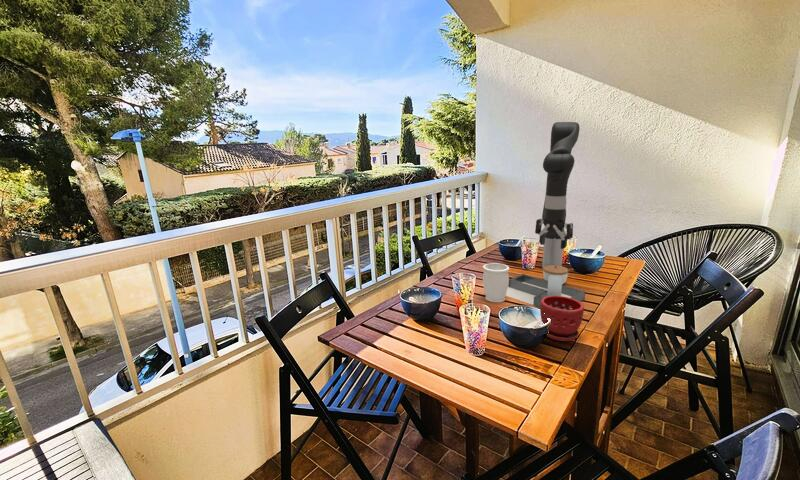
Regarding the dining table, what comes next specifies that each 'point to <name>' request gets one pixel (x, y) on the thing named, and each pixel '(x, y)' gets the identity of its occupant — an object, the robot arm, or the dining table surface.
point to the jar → (495, 281)
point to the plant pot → (562, 317)
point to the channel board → (525, 294)
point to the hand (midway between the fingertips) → (552, 246)
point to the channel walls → (542, 293)
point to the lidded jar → (555, 272)
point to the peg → (554, 285)
